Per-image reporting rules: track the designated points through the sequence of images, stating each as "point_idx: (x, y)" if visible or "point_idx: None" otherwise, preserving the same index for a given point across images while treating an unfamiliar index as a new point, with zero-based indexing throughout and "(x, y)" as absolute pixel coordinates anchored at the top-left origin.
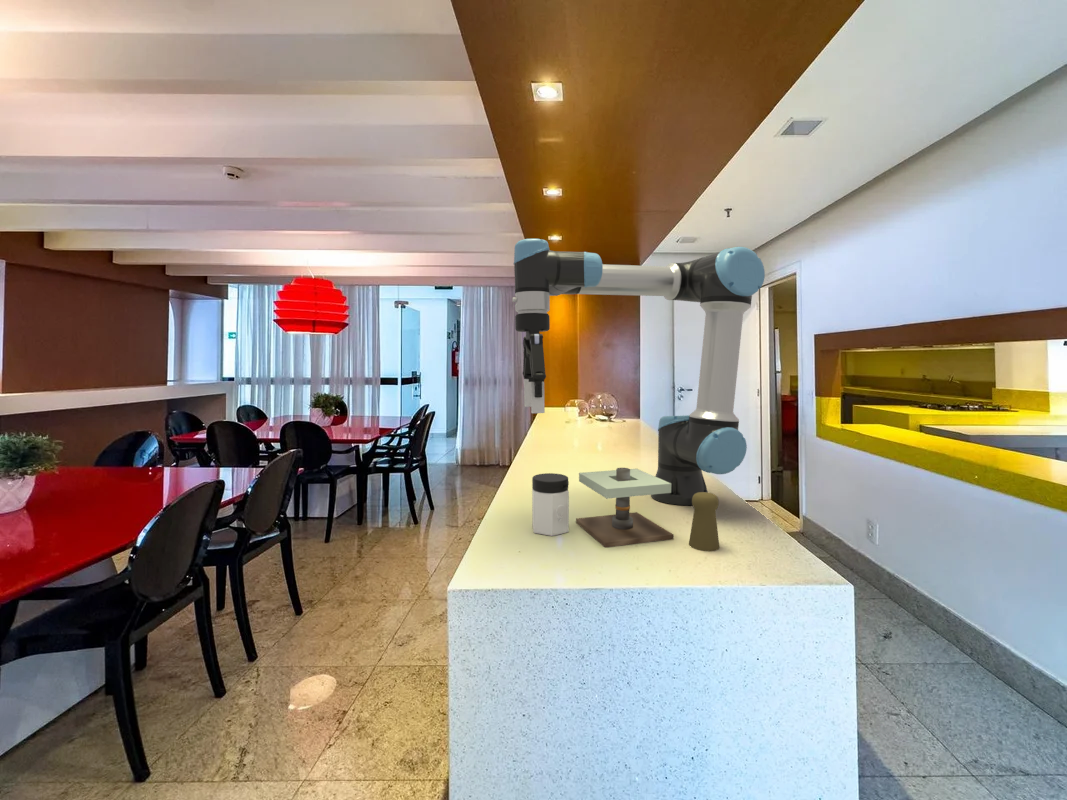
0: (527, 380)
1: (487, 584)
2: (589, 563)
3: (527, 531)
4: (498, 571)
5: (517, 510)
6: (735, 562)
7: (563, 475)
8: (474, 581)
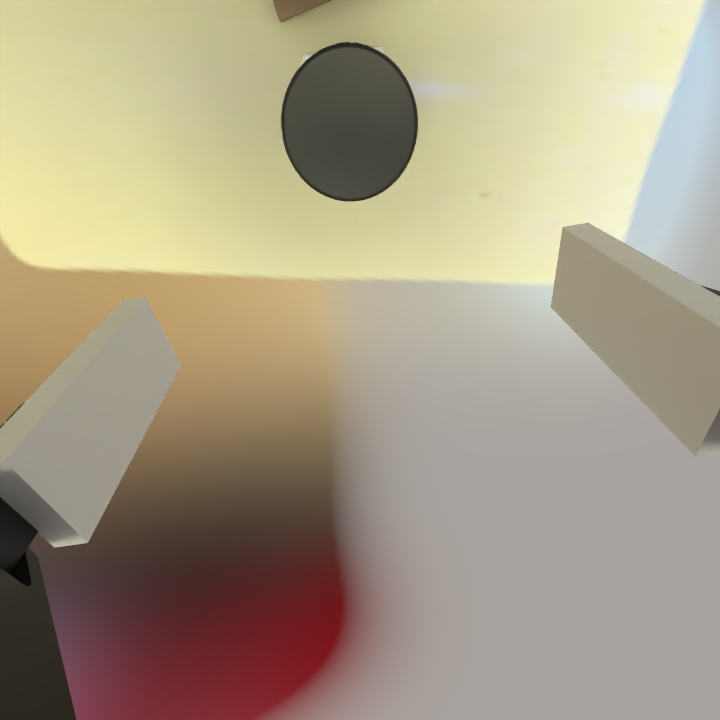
0: (76, 509)
1: None
2: (587, 4)
3: None
4: None
5: (200, 220)
6: None
7: (317, 66)
8: None
